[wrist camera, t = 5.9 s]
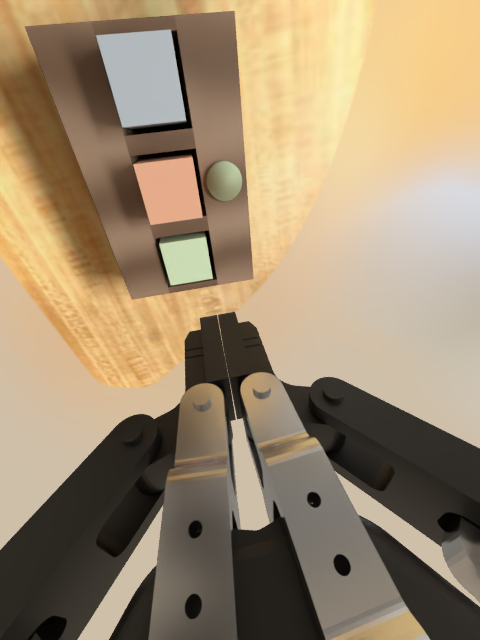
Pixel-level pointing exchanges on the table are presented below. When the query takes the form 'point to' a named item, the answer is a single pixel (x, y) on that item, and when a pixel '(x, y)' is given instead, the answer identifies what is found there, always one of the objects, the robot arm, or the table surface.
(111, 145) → the console
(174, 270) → the sage button
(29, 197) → the table surface
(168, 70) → the slate button
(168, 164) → the terracotta button
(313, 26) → the table surface
